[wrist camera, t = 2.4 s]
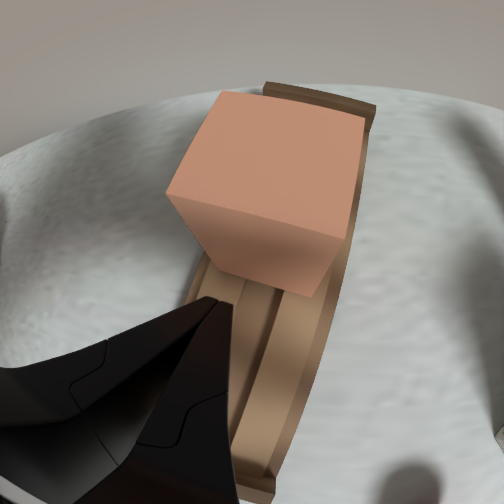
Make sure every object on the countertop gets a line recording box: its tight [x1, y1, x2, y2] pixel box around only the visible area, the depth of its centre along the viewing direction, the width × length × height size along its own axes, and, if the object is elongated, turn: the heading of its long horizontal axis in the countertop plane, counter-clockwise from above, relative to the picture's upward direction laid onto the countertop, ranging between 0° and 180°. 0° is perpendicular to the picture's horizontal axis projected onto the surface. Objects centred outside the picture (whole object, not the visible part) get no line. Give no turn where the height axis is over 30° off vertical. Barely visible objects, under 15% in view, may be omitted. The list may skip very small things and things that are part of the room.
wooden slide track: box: [184, 82, 376, 504], centre depth 18 cm, size 28×9×4 cm, turn 162°
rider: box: [165, 91, 365, 298], centre depth 14 cm, size 5×6×10 cm
